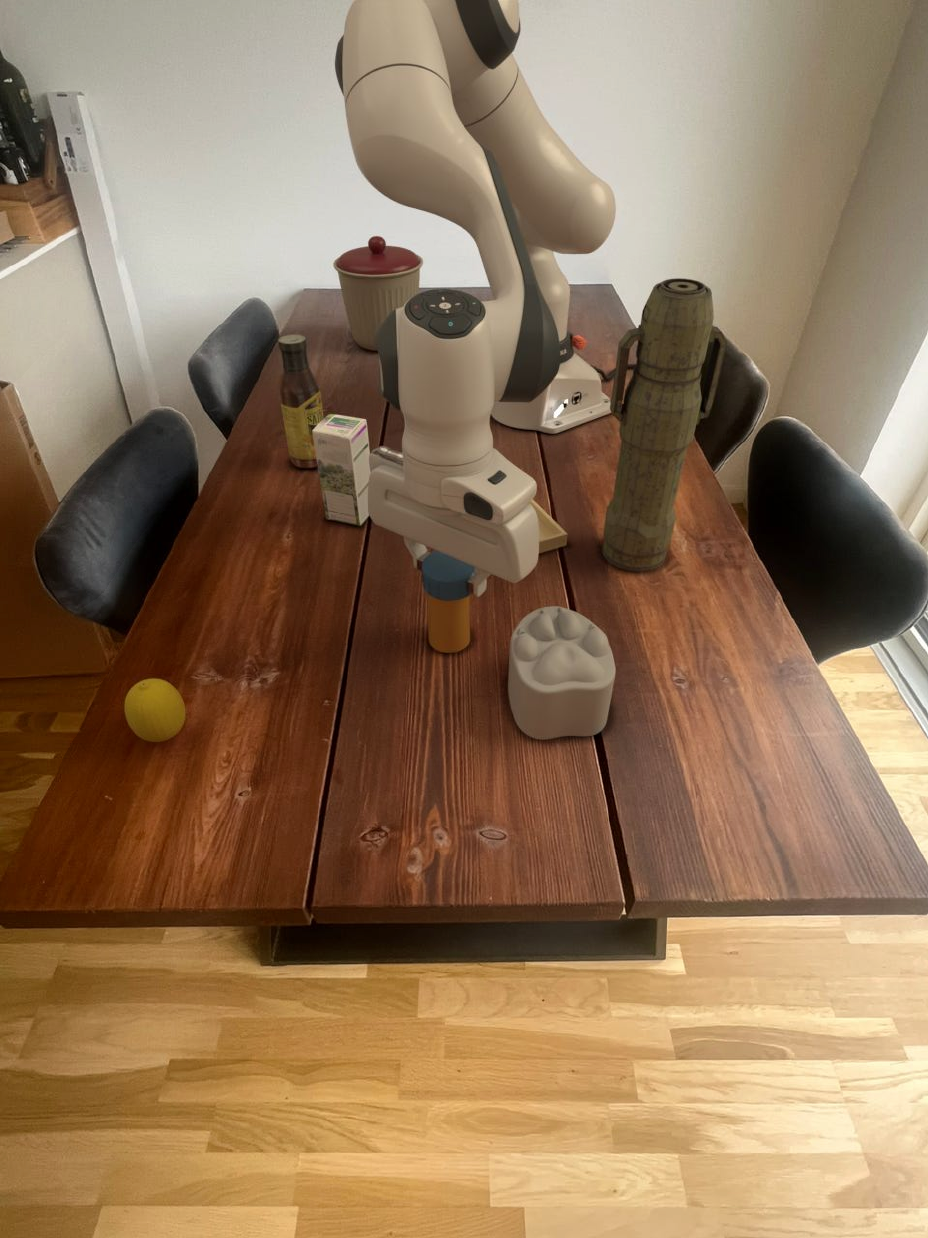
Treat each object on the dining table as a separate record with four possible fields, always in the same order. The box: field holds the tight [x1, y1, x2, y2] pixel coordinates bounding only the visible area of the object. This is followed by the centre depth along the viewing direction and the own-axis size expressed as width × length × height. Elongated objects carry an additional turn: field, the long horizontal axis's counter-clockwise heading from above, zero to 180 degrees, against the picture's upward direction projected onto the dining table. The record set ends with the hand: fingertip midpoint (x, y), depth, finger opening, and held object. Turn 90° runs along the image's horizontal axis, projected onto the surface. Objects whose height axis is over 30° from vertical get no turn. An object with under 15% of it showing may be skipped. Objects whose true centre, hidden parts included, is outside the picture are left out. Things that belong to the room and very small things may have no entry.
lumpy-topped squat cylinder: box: [507, 605, 617, 741], centre depth 78 cm, size 10×13×9 cm
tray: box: [529, 498, 568, 554], centre depth 103 cm, size 15×13×2 cm
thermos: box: [602, 277, 728, 573], centre depth 89 cm, size 9×12×35 cm
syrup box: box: [312, 413, 371, 527], centre depth 103 cm, size 6×6×14 cm
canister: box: [332, 235, 424, 352], centre depth 152 cm, size 18×18×21 cm
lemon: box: [123, 678, 187, 743], centre depth 74 cm, size 6×6×8 cm
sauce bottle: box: [277, 334, 325, 470], centre depth 114 cm, size 7×6×20 cm
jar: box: [425, 591, 471, 654], centre depth 84 cm, size 5×5×10 cm
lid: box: [421, 550, 475, 601], centre depth 81 cm, size 6×6×3 cm
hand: (449, 579), depth 82 cm, fingers closed on lid, 6 cm apart
